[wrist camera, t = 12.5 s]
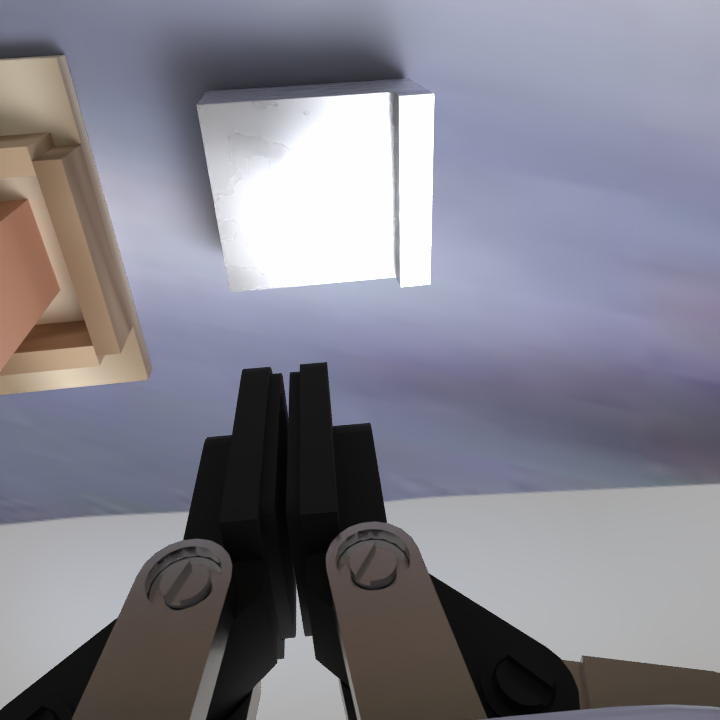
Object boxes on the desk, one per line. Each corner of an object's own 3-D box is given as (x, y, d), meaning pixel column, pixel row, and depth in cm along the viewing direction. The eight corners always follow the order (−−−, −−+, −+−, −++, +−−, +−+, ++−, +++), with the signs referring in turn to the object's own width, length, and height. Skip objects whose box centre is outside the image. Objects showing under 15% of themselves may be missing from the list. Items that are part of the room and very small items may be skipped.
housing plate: (408, 78, 23) (434, 93, 20) (408, 244, 27) (430, 284, 23) (206, 91, 23) (192, 109, 19) (234, 259, 26) (228, 303, 23)
